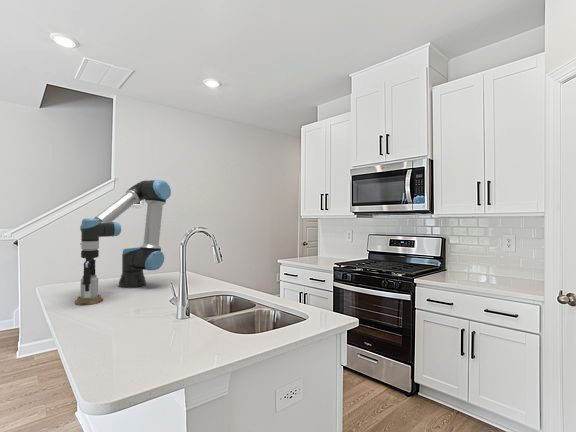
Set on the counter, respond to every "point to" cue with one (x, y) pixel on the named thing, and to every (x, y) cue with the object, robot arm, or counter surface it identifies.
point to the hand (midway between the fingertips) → (89, 295)
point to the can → (93, 287)
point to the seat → (88, 301)
